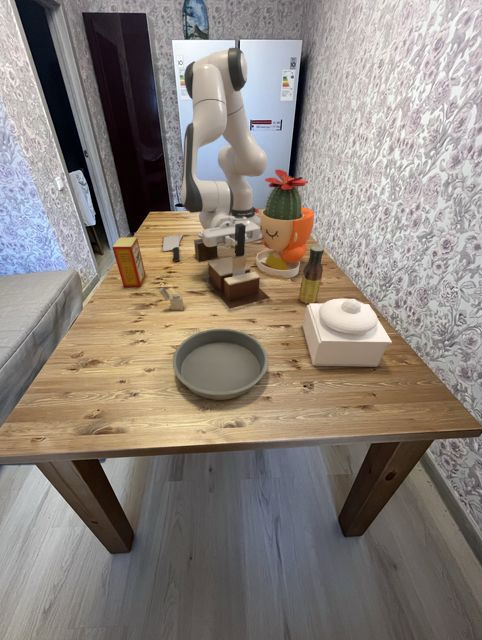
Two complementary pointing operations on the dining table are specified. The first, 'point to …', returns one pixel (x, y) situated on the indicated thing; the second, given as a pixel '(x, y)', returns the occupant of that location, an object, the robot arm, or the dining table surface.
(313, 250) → the sauce bottle
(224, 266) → the cake
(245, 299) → the cake board
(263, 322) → the dining table surface
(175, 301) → the lighter
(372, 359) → the white lidded canister
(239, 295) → the cake slice
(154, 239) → the dining table surface
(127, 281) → the baking soda box
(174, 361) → the cake pan
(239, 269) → the cake knife
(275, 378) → the dining table surface
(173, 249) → the kitchen cleaver
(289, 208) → the potted cactus
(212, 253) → the knife block
